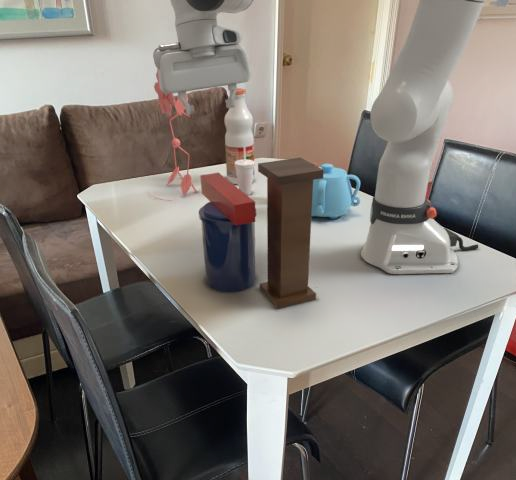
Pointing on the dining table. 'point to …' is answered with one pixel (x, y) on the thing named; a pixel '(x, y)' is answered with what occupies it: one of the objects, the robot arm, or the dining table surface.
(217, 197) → the red rectangular block
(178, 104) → the figurine
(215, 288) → the pot
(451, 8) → the robot arm
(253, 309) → the dining table surface
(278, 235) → the stand
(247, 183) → the smoothie
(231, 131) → the fruit juice
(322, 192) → the decorative pot
